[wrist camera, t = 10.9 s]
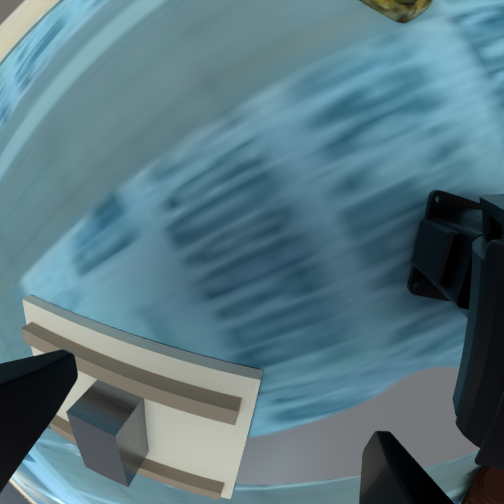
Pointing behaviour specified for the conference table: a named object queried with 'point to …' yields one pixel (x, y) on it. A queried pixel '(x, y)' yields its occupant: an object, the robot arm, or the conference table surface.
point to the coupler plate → (158, 396)
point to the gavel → (486, 487)
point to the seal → (399, 8)
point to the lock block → (110, 431)
